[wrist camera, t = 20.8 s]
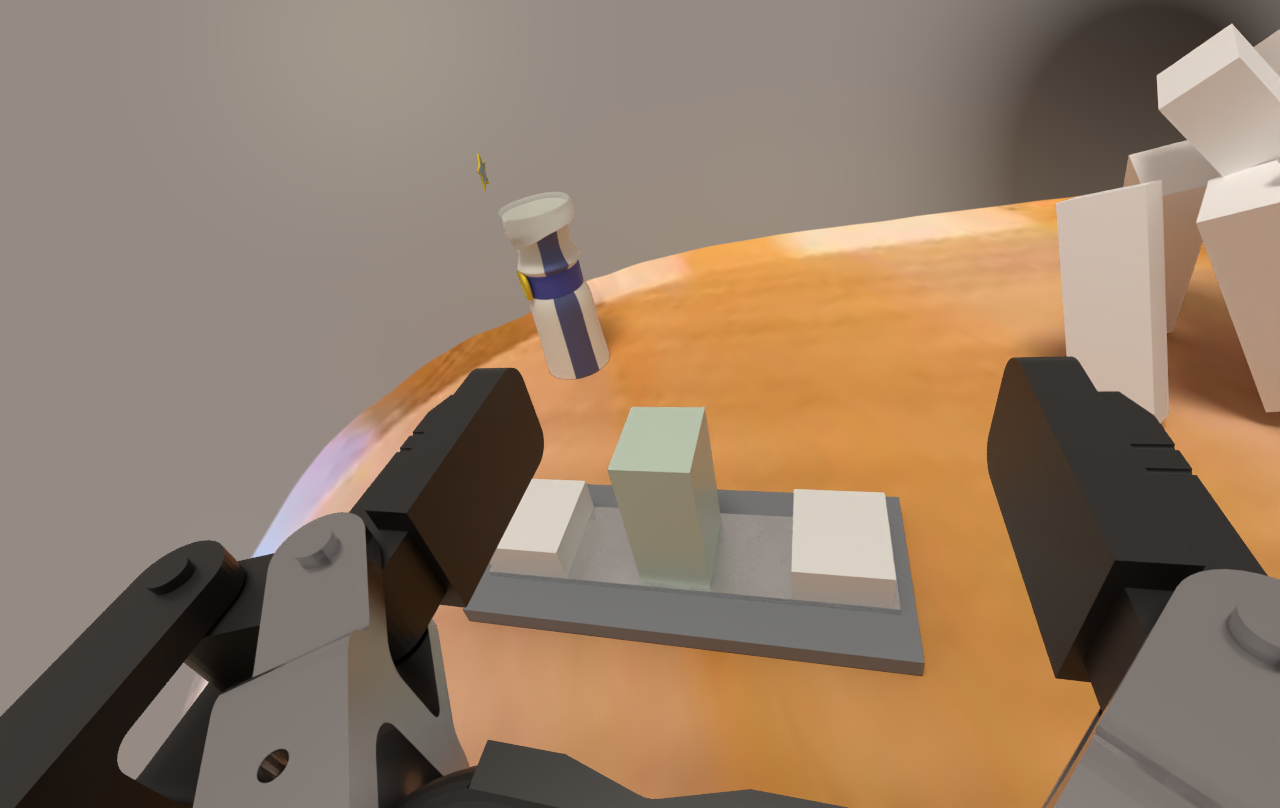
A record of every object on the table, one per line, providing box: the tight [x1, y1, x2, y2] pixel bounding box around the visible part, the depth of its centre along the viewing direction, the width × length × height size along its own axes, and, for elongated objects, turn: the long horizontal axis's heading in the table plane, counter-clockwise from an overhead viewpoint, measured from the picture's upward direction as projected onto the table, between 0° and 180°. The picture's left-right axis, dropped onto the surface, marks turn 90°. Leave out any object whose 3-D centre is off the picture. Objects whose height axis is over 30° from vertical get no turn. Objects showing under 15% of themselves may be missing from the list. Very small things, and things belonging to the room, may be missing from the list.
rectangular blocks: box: [490, 479, 896, 609], centre depth 42 cm, size 28×7×3 cm, turn 77°
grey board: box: [463, 484, 924, 676], centre depth 43 cm, size 31×13×2 cm, turn 77°
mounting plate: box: [489, 507, 901, 615], centre depth 43 cm, size 29×7×1 cm, turn 77°
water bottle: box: [477, 153, 610, 379], centre depth 62 cm, size 8×9×25 cm
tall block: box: [608, 407, 721, 587], centre depth 39 cm, size 5×6×11 cm
